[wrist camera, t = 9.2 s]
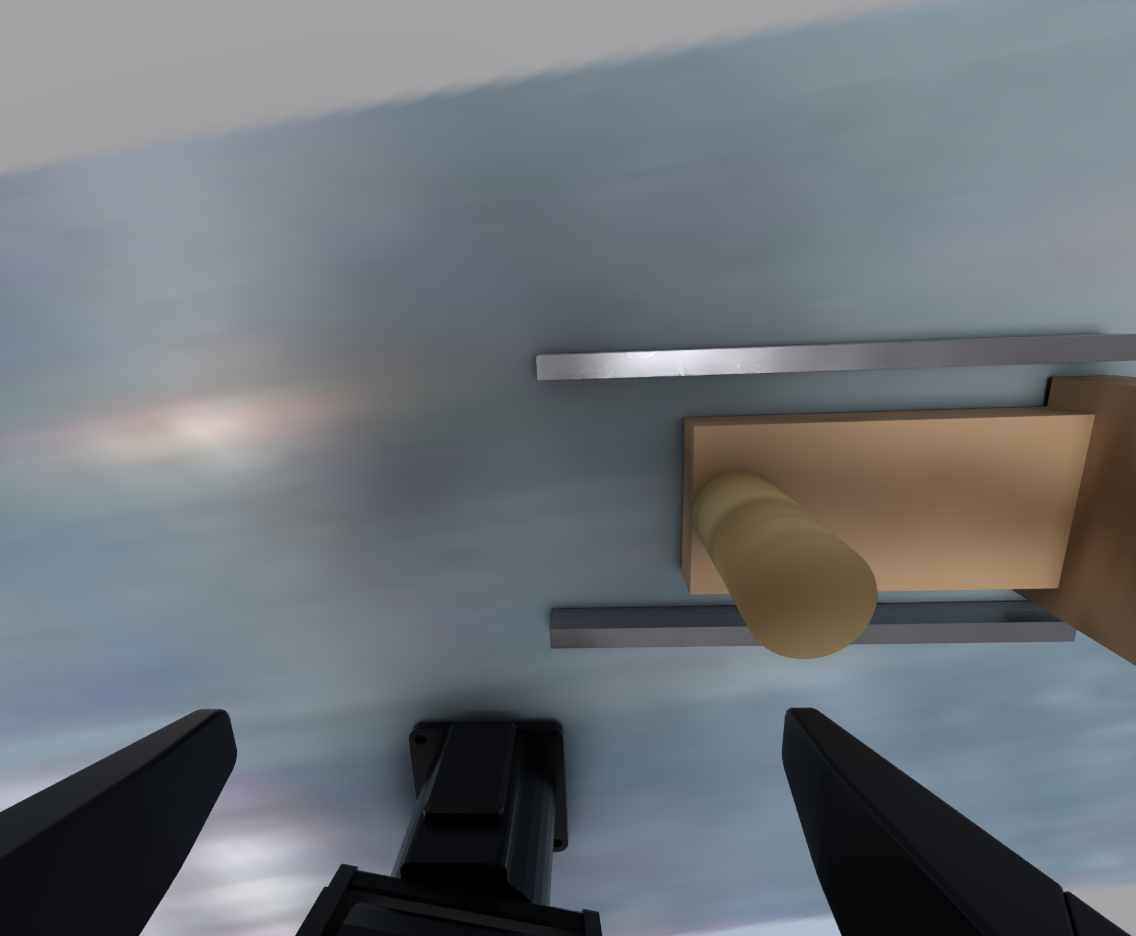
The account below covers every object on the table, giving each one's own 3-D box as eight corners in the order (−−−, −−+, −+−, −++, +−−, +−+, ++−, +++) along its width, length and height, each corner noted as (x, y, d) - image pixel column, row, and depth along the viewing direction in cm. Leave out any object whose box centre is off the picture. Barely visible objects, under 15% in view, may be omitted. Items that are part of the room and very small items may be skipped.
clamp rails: (1039, 619, 21) (1074, 641, 19) (553, 626, 21) (550, 648, 20) (1099, 333, 18) (1144, 334, 17) (539, 353, 19) (536, 355, 17)
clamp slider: (1066, 588, 20) (1354, 744, 13) (680, 595, 21) (735, 747, 13) (1113, 375, 18) (1489, 408, 11) (685, 389, 19) (751, 430, 11)
